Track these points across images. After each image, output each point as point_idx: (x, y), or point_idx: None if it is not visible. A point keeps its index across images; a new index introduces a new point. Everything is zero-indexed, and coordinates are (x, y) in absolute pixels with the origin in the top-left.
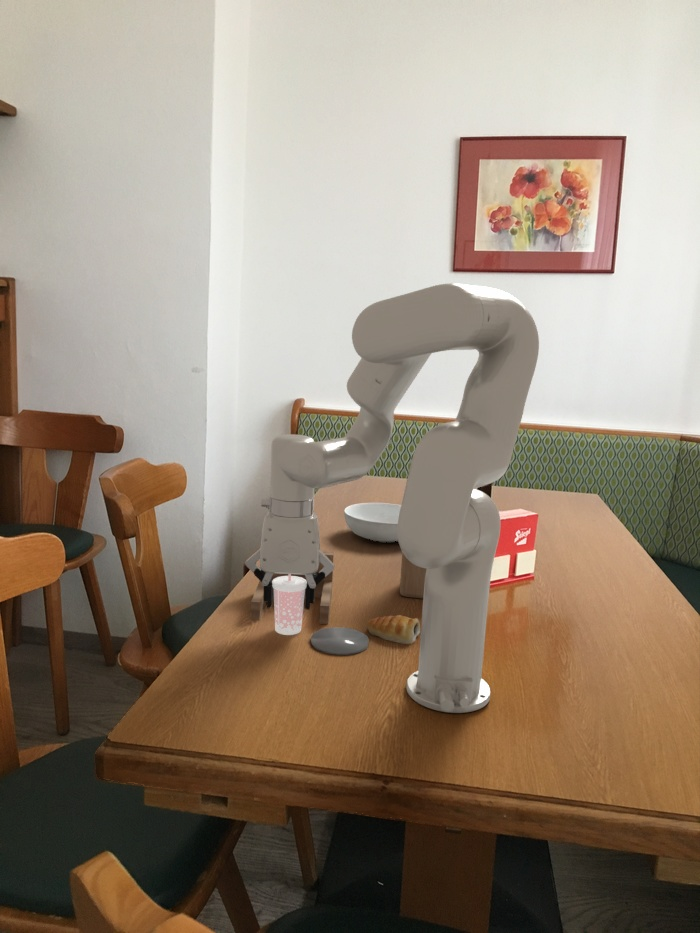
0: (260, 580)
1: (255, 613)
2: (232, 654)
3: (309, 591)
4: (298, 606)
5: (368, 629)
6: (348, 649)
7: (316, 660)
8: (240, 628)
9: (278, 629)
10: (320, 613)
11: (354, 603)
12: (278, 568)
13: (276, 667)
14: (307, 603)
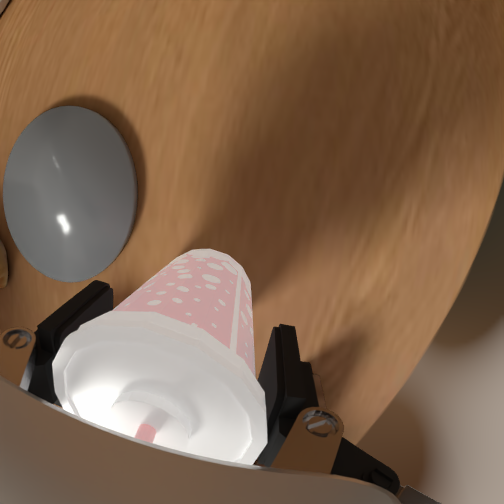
0: (347, 442)
1: None
2: (407, 131)
3: (48, 319)
4: (135, 291)
5: (3, 256)
6: (45, 123)
7: (140, 66)
8: (360, 322)
9: (241, 271)
10: None
11: None
12: (209, 500)
13: (272, 23)
14: (90, 292)
